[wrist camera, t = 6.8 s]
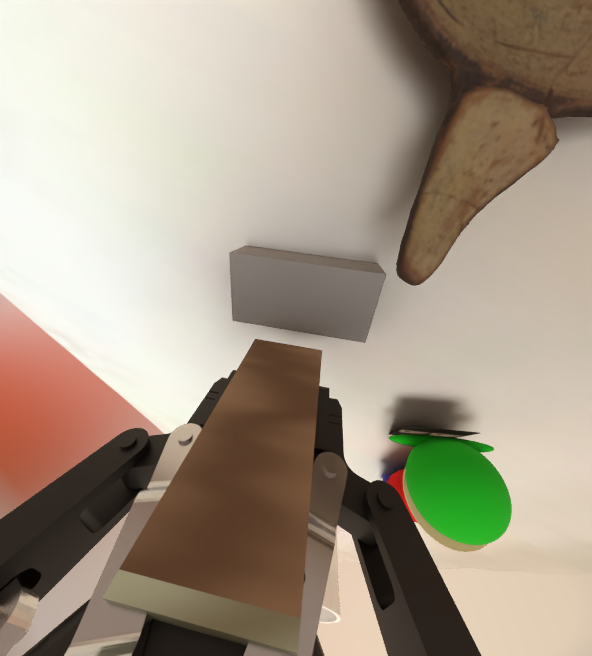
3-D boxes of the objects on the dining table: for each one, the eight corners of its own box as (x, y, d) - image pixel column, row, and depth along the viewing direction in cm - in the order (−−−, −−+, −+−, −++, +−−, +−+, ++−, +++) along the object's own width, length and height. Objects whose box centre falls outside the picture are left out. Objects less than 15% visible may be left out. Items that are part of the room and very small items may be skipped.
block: (321, 350, 13) (297, 652, 4) (312, 398, 15) (282, 672, 6) (255, 338, 13) (102, 597, 4) (254, 387, 15) (147, 633, 6)
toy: (435, 445, 29) (521, 433, 16) (450, 524, 25) (581, 591, 12) (368, 438, 30) (398, 421, 17) (372, 512, 26) (415, 560, 13)
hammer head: (377, 263, 16) (386, 274, 13) (361, 323, 18) (365, 342, 16) (245, 245, 17) (229, 252, 14) (246, 305, 19) (232, 320, 17)
